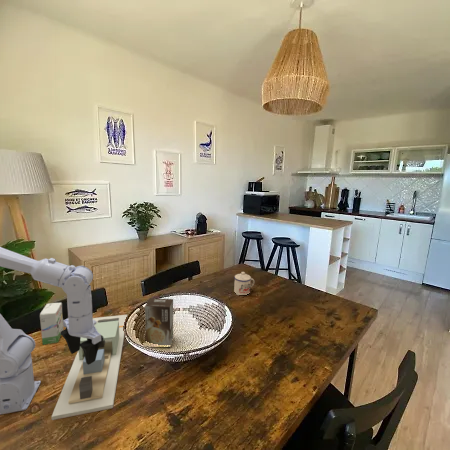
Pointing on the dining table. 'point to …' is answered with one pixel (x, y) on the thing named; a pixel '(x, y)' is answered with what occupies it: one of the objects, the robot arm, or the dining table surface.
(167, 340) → the coffee box
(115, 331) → the tunnel
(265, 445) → the dining table surface
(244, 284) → the teacup with lid
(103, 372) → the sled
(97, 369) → the block
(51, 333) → the ink box
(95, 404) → the deck
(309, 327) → the dining table surface
